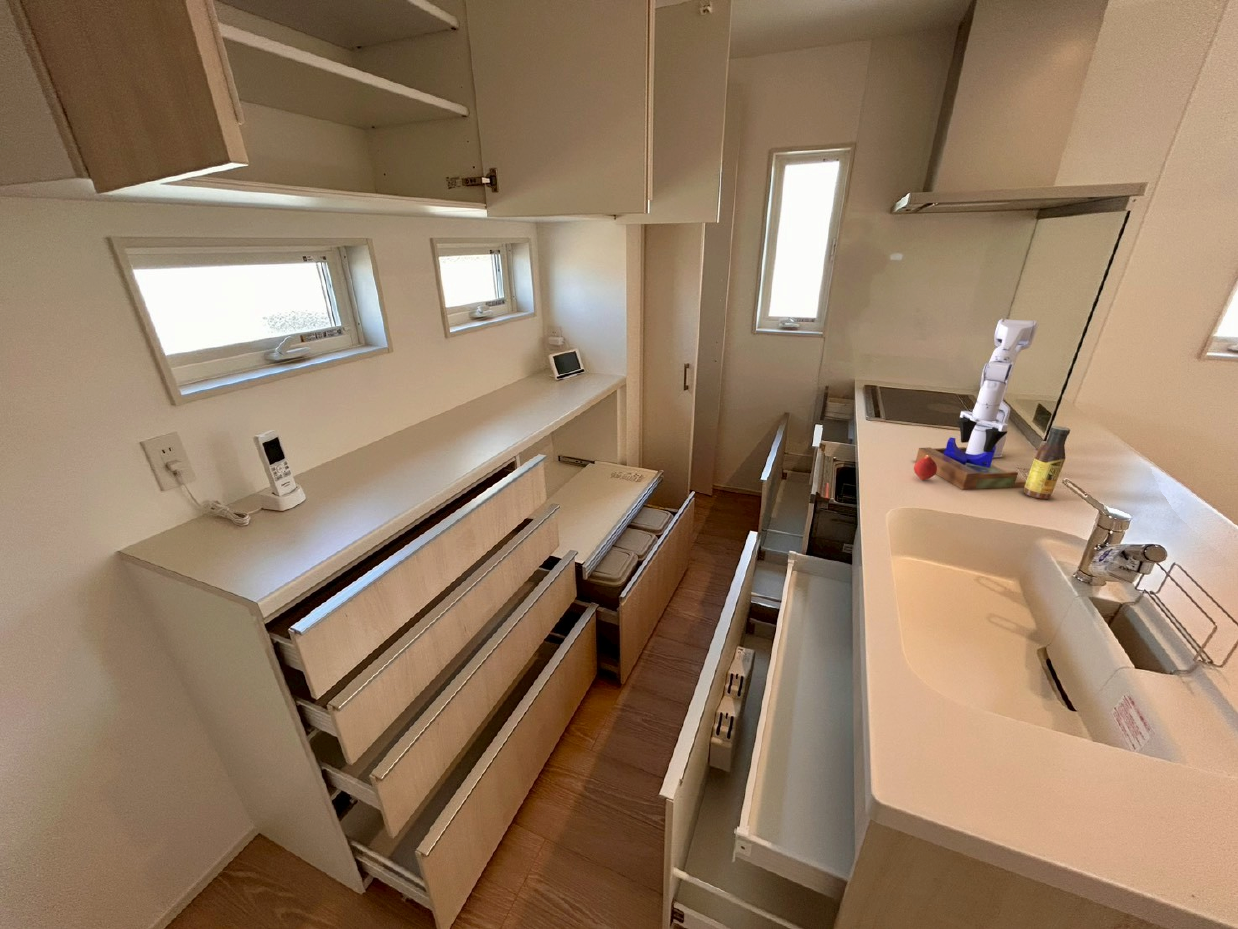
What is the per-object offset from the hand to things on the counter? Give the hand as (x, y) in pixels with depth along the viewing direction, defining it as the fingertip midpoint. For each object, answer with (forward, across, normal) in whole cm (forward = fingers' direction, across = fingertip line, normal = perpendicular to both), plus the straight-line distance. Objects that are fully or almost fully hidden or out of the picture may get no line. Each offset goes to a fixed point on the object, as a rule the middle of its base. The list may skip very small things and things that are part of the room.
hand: (975, 446), depth 150 cm
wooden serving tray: (+9, 0, 0) cm, 9 cm away
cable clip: (+6, -1, 0) cm, 6 cm away
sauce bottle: (+9, +17, +6) cm, 20 cm away
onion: (+9, +1, -17) cm, 20 cm away
